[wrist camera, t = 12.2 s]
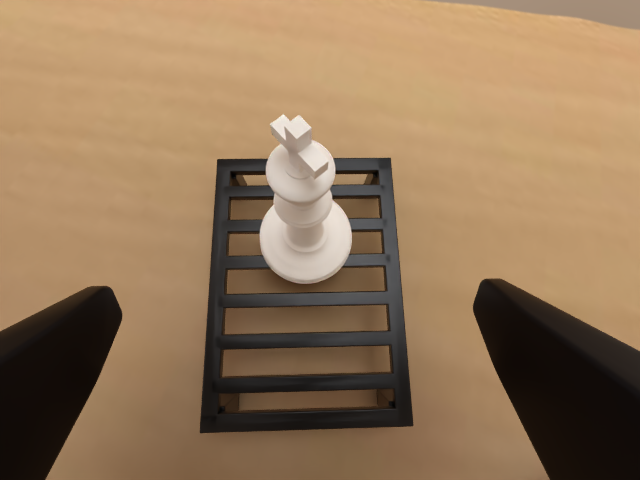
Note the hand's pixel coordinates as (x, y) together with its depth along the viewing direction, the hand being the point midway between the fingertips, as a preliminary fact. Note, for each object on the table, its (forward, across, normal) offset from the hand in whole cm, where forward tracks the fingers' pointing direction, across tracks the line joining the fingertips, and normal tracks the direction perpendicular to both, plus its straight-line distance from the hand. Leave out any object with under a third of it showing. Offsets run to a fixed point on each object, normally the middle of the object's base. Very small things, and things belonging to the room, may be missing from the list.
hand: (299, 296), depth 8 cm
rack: (+9, 0, +7) cm, 12 cm away
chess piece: (+9, 0, +3) cm, 9 cm away
